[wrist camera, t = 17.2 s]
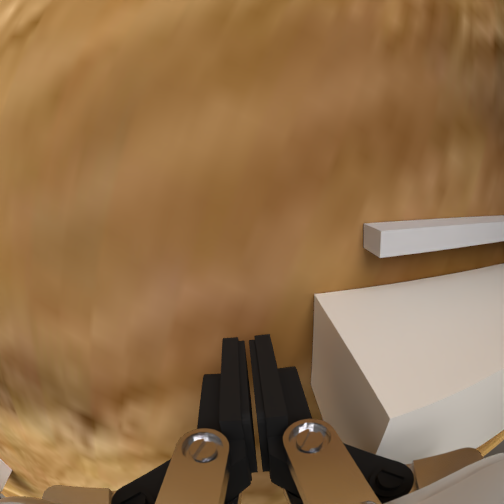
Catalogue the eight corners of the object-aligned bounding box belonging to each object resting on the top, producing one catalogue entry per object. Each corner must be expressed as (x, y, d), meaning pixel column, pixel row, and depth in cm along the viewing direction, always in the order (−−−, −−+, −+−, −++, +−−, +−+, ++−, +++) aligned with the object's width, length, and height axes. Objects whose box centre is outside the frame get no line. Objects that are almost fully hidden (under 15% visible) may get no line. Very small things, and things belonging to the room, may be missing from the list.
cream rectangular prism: (314, 294, 12) (390, 418, 5) (526, 258, 12) (597, 293, 5) (310, 384, 13) (351, 503, 6) (510, 323, 14) (570, 368, 7)
